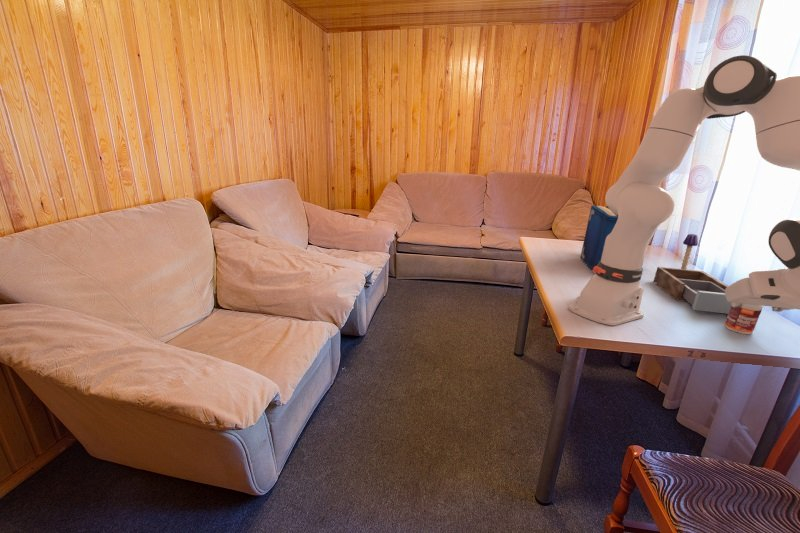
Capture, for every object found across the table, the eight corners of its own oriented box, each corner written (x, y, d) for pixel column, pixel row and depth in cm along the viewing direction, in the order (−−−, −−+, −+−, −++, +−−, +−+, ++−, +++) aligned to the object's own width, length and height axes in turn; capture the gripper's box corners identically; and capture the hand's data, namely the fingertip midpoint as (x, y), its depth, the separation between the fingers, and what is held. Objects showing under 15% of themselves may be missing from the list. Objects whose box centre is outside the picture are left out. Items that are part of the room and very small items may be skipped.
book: (612, 277, 142) (628, 214, 134) (593, 275, 144) (607, 213, 136) (596, 260, 163) (608, 205, 154) (579, 259, 164) (590, 204, 156)
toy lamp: (683, 276, 146) (695, 236, 141) (671, 272, 150) (683, 233, 145) (690, 275, 148) (703, 235, 143) (678, 271, 152) (690, 232, 147)
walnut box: (727, 305, 120) (733, 288, 118) (676, 300, 123) (681, 283, 121) (697, 285, 136) (702, 271, 134) (653, 281, 139) (657, 266, 137)
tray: (750, 315, 109) (757, 297, 108) (694, 309, 112) (699, 292, 110) (713, 292, 127) (719, 276, 125) (665, 287, 130) (670, 271, 128)
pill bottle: (734, 333, 101) (748, 296, 97) (718, 323, 107) (731, 288, 103) (758, 335, 100) (773, 298, 97) (741, 325, 106) (755, 290, 102)
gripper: (845, 279, 86) (796, 300, 98) (744, 270, 90) (710, 292, 102) (854, 304, 83) (803, 322, 95) (750, 294, 87) (714, 313, 99)
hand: (754, 306), depth 99 cm, fingers open, 8 cm apart
